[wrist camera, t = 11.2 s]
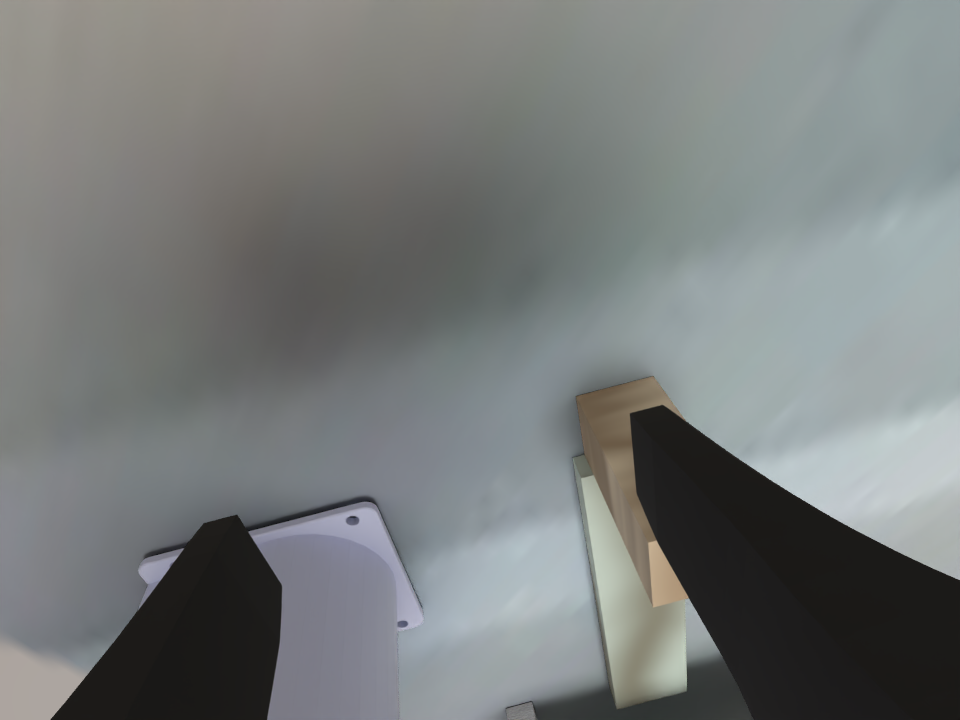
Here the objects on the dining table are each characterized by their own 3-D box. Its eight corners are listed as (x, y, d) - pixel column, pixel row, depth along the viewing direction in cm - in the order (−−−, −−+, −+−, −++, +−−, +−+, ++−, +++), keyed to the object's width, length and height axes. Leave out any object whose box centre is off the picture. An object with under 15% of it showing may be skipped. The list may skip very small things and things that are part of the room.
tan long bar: (609, 688, 33) (659, 837, 27) (563, 399, 22) (630, 547, 16) (677, 670, 33) (742, 815, 27) (666, 373, 22) (771, 510, 16)
